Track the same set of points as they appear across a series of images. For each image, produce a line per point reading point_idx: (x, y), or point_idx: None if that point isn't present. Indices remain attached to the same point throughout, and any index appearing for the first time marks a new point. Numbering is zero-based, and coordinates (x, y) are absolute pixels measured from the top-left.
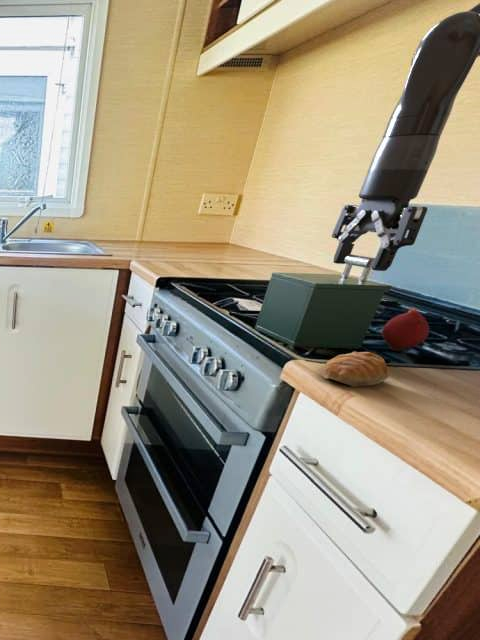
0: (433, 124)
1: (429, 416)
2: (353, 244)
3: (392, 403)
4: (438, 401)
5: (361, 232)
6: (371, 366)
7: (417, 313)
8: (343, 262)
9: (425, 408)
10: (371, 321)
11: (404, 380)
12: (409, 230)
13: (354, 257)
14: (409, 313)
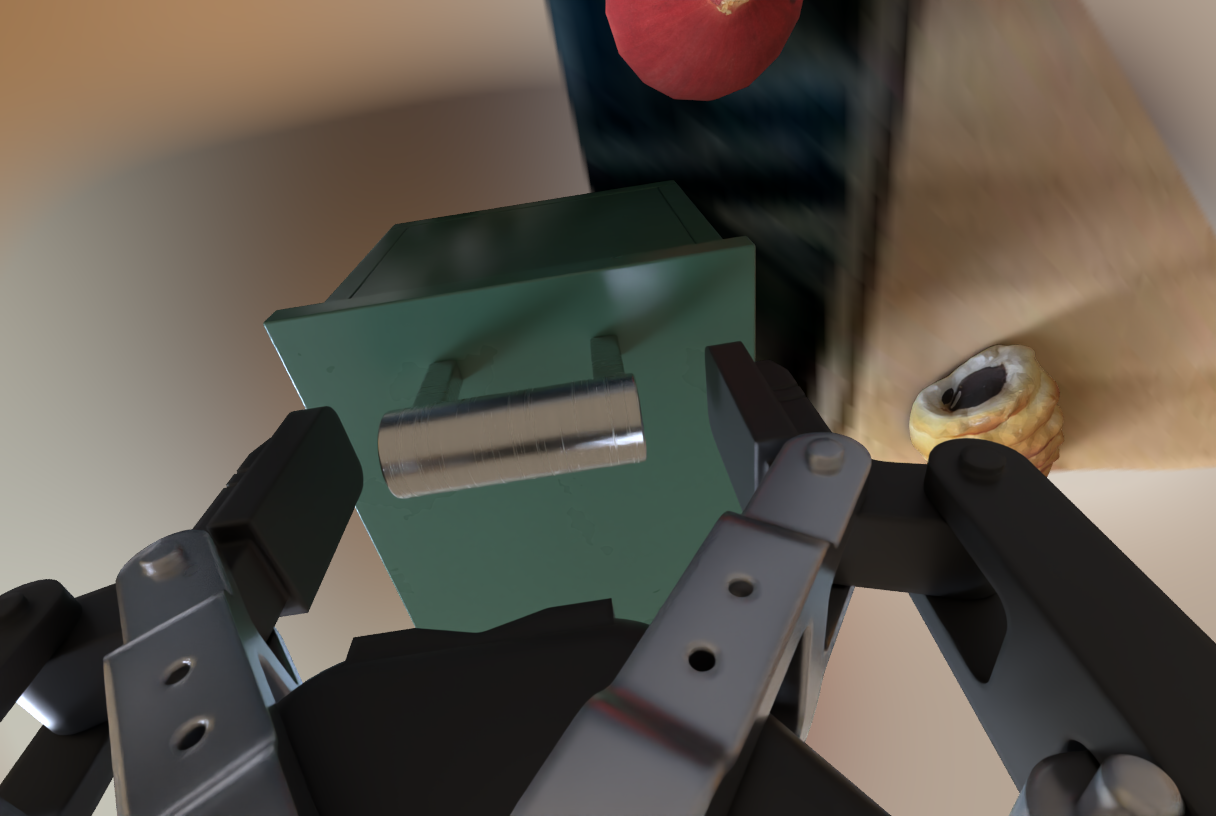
0: None
1: (1196, 376)
2: (255, 522)
3: (1120, 409)
4: (1149, 285)
5: (262, 646)
6: (1055, 440)
7: None
8: (342, 433)
9: (1165, 353)
10: (699, 212)
11: (1008, 263)
12: (1013, 606)
13: (488, 485)
14: (736, 16)
